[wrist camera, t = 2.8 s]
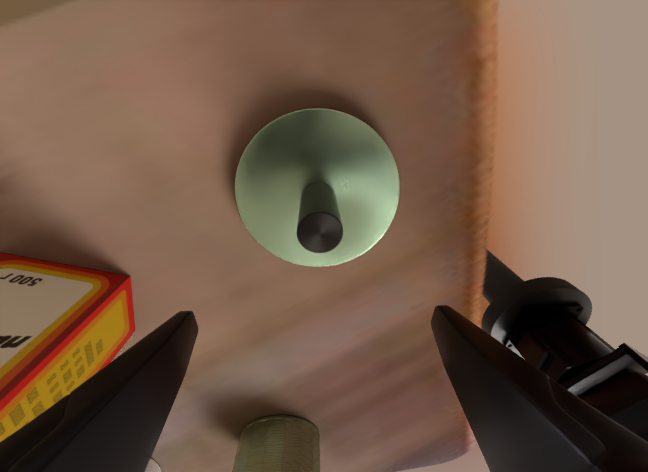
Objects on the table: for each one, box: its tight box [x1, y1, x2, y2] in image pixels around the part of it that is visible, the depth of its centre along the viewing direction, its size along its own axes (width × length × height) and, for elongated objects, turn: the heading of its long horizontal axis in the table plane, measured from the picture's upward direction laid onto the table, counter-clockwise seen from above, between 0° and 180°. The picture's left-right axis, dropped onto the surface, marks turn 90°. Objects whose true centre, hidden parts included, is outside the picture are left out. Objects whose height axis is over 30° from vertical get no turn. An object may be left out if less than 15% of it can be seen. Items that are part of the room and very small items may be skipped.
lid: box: [235, 108, 400, 267], centre depth 16 cm, size 11×11×6 cm
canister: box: [232, 415, 320, 472], centre depth 31 cm, size 10×10×6 cm
